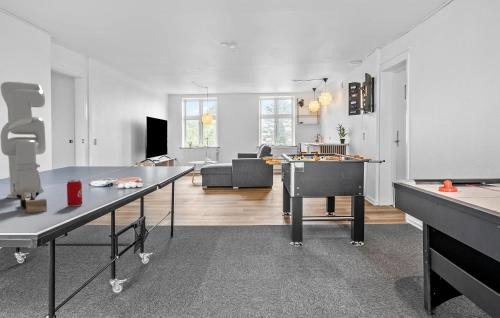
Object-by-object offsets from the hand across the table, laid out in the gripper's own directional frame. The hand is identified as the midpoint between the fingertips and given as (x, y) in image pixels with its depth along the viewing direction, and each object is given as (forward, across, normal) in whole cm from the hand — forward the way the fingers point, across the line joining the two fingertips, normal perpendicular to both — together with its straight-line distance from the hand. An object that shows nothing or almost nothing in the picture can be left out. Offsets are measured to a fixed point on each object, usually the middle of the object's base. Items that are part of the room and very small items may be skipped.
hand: (28, 207), depth 152 cm
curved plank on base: (0, 0, +3) cm, 3 cm away
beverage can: (0, -16, +11) cm, 19 cm away
